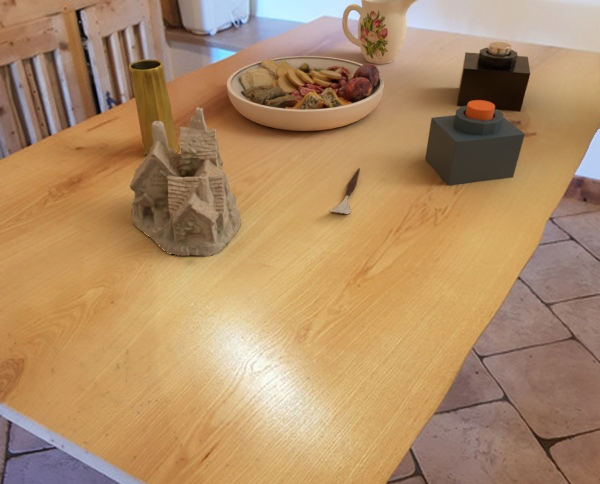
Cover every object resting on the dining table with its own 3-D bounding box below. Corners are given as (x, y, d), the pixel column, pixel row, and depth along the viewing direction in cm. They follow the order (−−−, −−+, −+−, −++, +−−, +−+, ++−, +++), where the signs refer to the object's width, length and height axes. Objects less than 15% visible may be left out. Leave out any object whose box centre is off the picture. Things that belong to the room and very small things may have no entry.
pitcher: (351, 47, 137) (354, -15, 128) (419, 57, 130) (428, -8, 121) (331, 59, 130) (333, -6, 121) (402, 71, 123) (410, 3, 114)
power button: (508, 52, 106) (511, 42, 104) (509, 58, 103) (511, 48, 101) (487, 50, 106) (489, 41, 105) (487, 57, 103) (489, 47, 102)
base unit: (518, 93, 113) (530, 46, 107) (520, 111, 105) (533, 63, 99) (458, 88, 115) (467, 42, 109) (456, 106, 108) (465, 58, 102)
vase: (151, 162, 91) (133, 73, 81) (138, 148, 95) (119, 62, 85) (185, 152, 93) (171, 66, 84) (171, 139, 97) (156, 55, 88)
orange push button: (484, 110, 84) (487, 98, 83) (497, 120, 81) (500, 108, 80) (460, 112, 84) (462, 101, 83) (472, 123, 81) (475, 111, 80)
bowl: (223, 140, 97) (219, 95, 92) (233, 80, 119) (230, 42, 114) (392, 136, 97) (397, 92, 92) (370, 78, 120) (373, 39, 115)
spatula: (367, 172, 88) (368, 160, 86) (345, 225, 76) (345, 212, 75) (351, 170, 88) (352, 158, 87) (327, 222, 77) (327, 210, 75)
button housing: (485, 152, 92) (498, 99, 86) (513, 177, 86) (528, 122, 80) (424, 159, 91) (433, 106, 85) (447, 186, 84) (458, 129, 78)
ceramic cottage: (148, 188, 84) (128, 93, 73) (253, 201, 82) (248, 104, 71) (105, 253, 73) (75, 152, 62) (225, 269, 71) (215, 167, 60)
